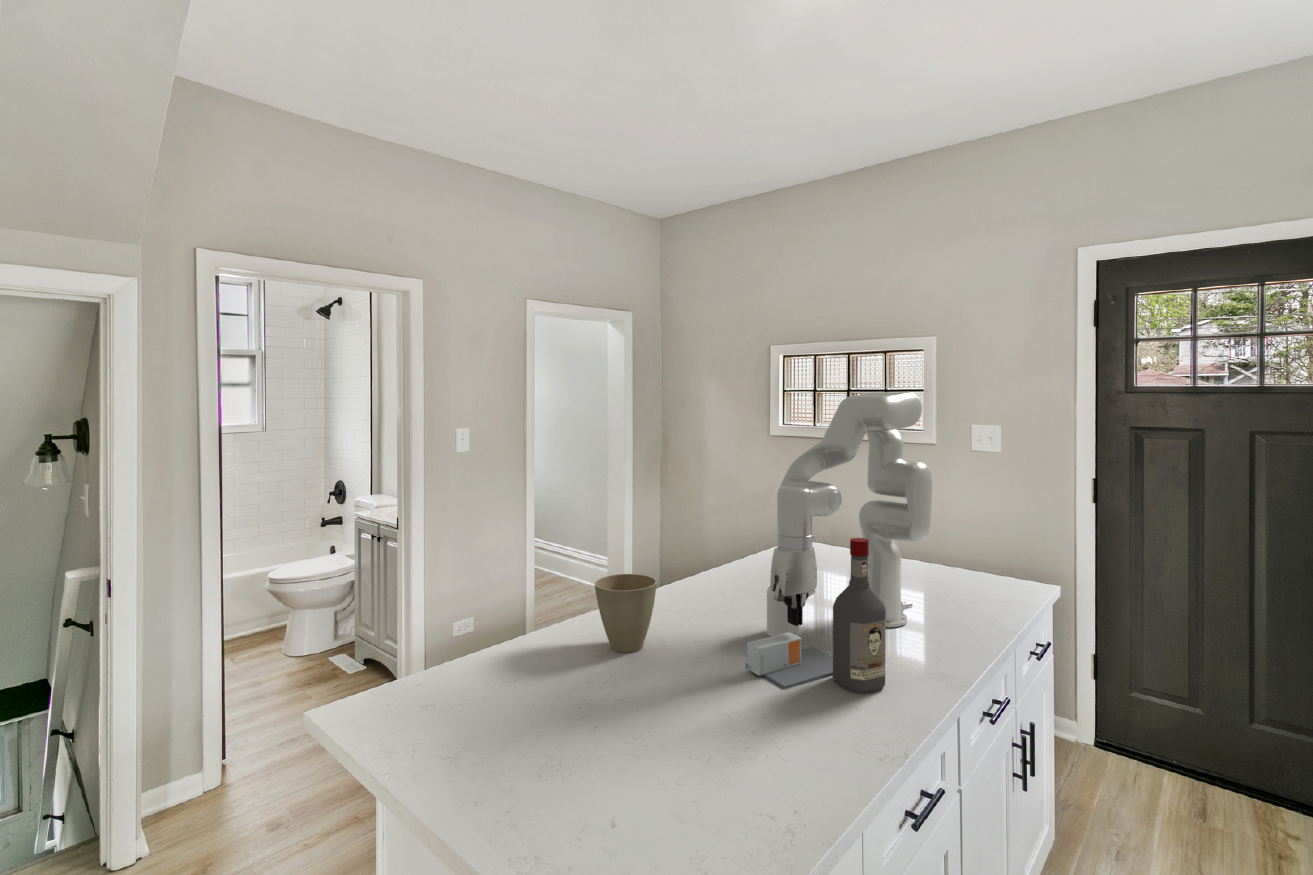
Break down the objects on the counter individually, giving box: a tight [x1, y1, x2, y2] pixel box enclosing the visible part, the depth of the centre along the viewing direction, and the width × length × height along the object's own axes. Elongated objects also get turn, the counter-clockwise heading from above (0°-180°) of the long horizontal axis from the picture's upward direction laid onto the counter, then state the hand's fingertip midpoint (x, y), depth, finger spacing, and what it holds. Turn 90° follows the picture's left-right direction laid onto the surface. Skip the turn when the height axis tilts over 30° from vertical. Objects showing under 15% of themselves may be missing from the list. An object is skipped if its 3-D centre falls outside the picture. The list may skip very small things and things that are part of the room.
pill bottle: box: [766, 585, 800, 637], centre depth 159 cm, size 8×8×15 cm
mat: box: [746, 646, 833, 690], centre depth 140 cm, size 19×13×1 cm
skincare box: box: [746, 632, 802, 677], centre depth 139 cm, size 6×4×12 cm
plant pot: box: [594, 573, 658, 653], centre depth 153 cm, size 15×15×16 cm
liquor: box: [832, 537, 887, 694], centre depth 131 cm, size 9×9×30 cm
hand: (794, 623), depth 142 cm, fingers closed
